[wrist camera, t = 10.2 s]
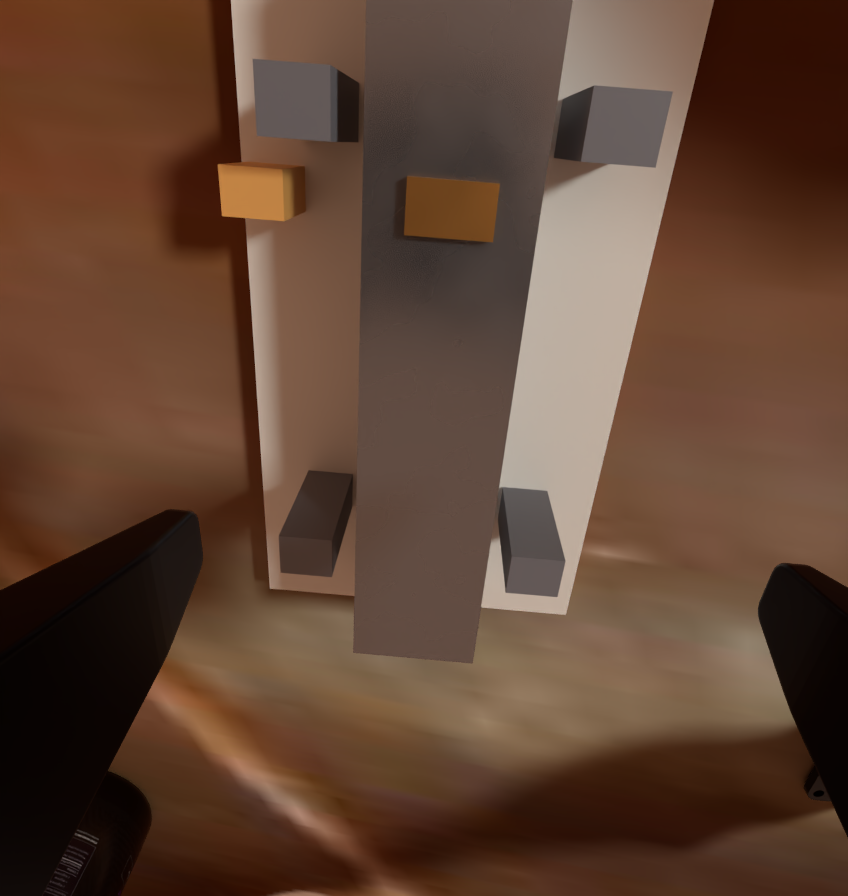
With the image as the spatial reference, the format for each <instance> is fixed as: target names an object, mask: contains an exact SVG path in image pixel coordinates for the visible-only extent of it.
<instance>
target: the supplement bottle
mask: <svg viewBox="0 0 848 896" xmlns="http://www.w3.org/2000/svg"><path fill="white" fill-rule="evenodd" d="M151 820H152V814H151V808H150V805H149V803H148V801H147V799H146V797H145V796H144V795H143V793H142V792H141V791H140V790H139V789H138V788H137V787H135V786H134V785H133V784H132V783H130V782H129V781H127V780H125V779H124V778H122V777H120V776H118V775H115V774H113V773H110V772H107V773H106V775H105V777H104V778H103V780H102V782H101V784H100V786H99V788H98V790H97V792H96V794H95V796H94V798H93V800H92V802H91V803H90V805H89V807H88V809H87V811H86V813H85V815H84V817H83V819H82V821H81V823H80V825H79V827H78V828H77V830H76V832H75V834H74V836H73V838H72V840H71V842H70V844H69V846H68V848H67V850H66V852H65V853H64V855H63V857H62V859H61V861H60V863H59V865H58V867H57V869H56V871H55V873H54V875H53V877H52V878H51V880H50V882H49V884H48V886H47V888H46V890H45V892H44V894H43V896H121V894H122V891H123V889H124V887H125V885H126V882H127V880H128V878H129V875H130V873H131V871H132V869H133V866H134V864H135V862H136V860H137V857H138V855H139V853H140V851H141V848H142V846H143V843H144V841H145V839H146V837H147V834H148V832H149V829H150V826H151Z"/></svg>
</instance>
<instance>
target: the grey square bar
mask: <svg viewBox="0 0 848 896" xmlns="http://www.w3.org/2000/svg"><path fill="white" fill-rule="evenodd" d="M572 2H573V0H366V33H365V84H364V135H363V186H362V237H361V288H360V339H359V390H358V441H357V492H356V543H355V594H354V645H353V653H363V654H374V655H385V656H396V657H407V658H418V659H430V660H441V661H452V662H463V663H473V657H474V650H475V644H476V637H477V631H478V624H479V617H480V611H481V604H482V598H483V591H484V584H485V578H486V571H487V564H488V558H489V551H490V545H491V538H492V531H493V525H494V518H495V512H496V505H497V498H498V492H499V485H500V478H501V472H502V465H503V459H504V452H505V445H506V439H507V432H508V426H509V419H510V412H511V406H512V399H513V392H514V386H515V379H516V373H517V366H518V359H519V353H520V346H521V340H522V333H523V326H524V320H525V313H526V307H527V300H528V293H529V287H530V280H531V273H532V267H533V260H534V254H535V247H536V240H537V234H538V227H539V221H540V214H541V207H542V201H543V194H544V187H545V181H546V174H547V168H548V161H549V154H550V148H551V141H552V135H553V128H554V121H555V115H556V108H557V101H558V95H559V88H560V82H561V75H562V68H563V62H564V55H565V49H566V42H567V35H568V29H569V22H570V15H571V9H572Z"/></svg>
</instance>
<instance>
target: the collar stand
mask: <svg viewBox="0 0 848 896" xmlns="http://www.w3.org/2000/svg"><path fill="white" fill-rule="evenodd" d="M713 3H714V0H573V2H572V9H571V15H570V22H569V29H568V35H567V42H566V49H565V55H564V62H563V68H562V75H561V82H560V88H559V95H558V101H557V108H556V115H555V121H554V128H553V135H552V141H551V148H550V154H549V161H548V168H547V174H546V181H545V187H544V194H543V201H542V207H541V214H540V221H539V227H538V234H537V240H536V247H535V254H534V260H533V267H532V273H531V280H530V287H529V293H528V300H527V307H526V313H525V320H524V326H523V333H522V340H521V346H520V353H519V359H518V366H517V373H516V379H515V386H514V392H513V399H512V406H511V412H510V419H509V426H508V432H507V439H506V445H505V452H504V459H503V465H502V472H501V478H500V485H499V492H498V498H497V505H496V512H495V518H494V525H493V531H492V538H491V545H490V551H489V558H488V564H487V571H486V578H485V584H484V591H483V598H482V604H481V607H483V608H495V609H506V610H517V611H528V612H540V613H551V614H562V615H566V612H567V608H568V604H569V599H570V595H571V591H572V587H573V583H574V579H575V575H576V570H577V566H578V562H579V558H580V554H581V550H582V546H583V541H584V537H585V533H586V529H587V525H588V521H589V517H590V512H591V508H592V504H593V500H594V496H595V492H596V488H597V483H598V479H599V475H600V471H601V467H602V463H603V459H604V454H605V450H606V446H607V442H608V438H609V434H610V430H611V426H612V421H613V417H614V413H615V409H616V405H617V401H618V397H619V392H620V388H621V384H622V380H623V376H624V372H625V368H626V363H627V359H628V355H629V351H630V347H631V343H632V339H633V334H634V330H635V326H636V322H637V318H638V314H639V310H640V305H641V301H642V297H643V293H644V289H645V285H646V281H647V276H648V272H649V268H650V264H651V260H652V256H653V252H654V247H655V243H656V239H657V235H658V231H659V227H660V223H661V218H662V214H663V210H664V206H665V202H666V198H667V194H668V189H669V185H670V181H671V177H672V173H673V169H674V165H675V160H676V156H677V152H678V148H679V144H680V140H681V136H682V132H683V127H684V123H685V119H686V115H687V111H688V107H689V103H690V98H691V94H692V90H693V86H694V82H695V78H696V74H697V69H698V65H699V61H700V57H701V53H702V49H703V45H704V40H705V36H706V32H707V28H708V24H709V20H710V16H711V11H712V7H713ZM231 11H232V26H233V41H234V56H235V71H236V86H237V101H238V116H239V131H240V146H241V161H242V162H238V163H226V164H218V174H219V186H220V198H221V210H222V216H226V217H238V218H245V222H246V237H247V252H248V267H249V282H250V297H251V312H252V327H253V342H254V357H255V373H256V388H257V403H258V418H259V433H260V448H261V463H262V478H263V493H264V508H265V523H266V538H267V554H268V569H269V584H270V589H281V590H292V591H303V592H315V593H326V594H337V595H348V596H354V594H355V543H356V492H357V441H358V390H359V339H360V288H361V237H362V186H363V135H364V84H365V33H366V0H231Z"/></svg>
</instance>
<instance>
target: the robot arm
mask: <svg viewBox="0 0 848 896" xmlns="http://www.w3.org/2000/svg"><path fill="white" fill-rule="evenodd" d="M202 561H203V552H202V544H201V537H200V529H199V521H198V518H197V515H196V514H195V513H194V512H193V511H185V510H174V509H169V510H166V511H164V512H161V513H159V514H157V515H155V516H153V517H151V518H149V519H147V520H145V521H143V522H141V523H139V524H137V525H135V526H132V527H130V528H128V529H126V530H124V531H122V532H120V533H118V534H116V535H114V536H112V537H110V538H108V539H106V540H103V541H101V542H99V543H97V544H95V545H93V546H91V547H89V548H87V549H85V550H83V551H81V552H79V553H77V554H74V555H72V556H70V557H68V558H66V559H64V560H62V561H60V562H58V563H56V564H54V565H52V566H50V567H48V568H45V569H43V570H41V571H39V572H37V573H35V574H33V575H31V576H29V577H27V578H25V579H23V580H21V581H19V582H16V583H14V584H12V585H10V586H8V587H6V588H4V589H2V590H0V896H43V894H44V892H45V890H46V888H47V886H48V884H49V882H50V880H51V878H52V877H53V875H54V873H55V871H56V869H57V867H58V865H59V863H60V861H61V859H62V857H63V855H64V853H65V852H66V850H67V848H68V846H69V844H70V842H71V840H72V838H73V836H74V834H75V832H76V830H77V828H78V827H79V825H80V823H81V821H82V819H83V817H84V815H85V813H86V811H87V809H88V807H89V805H90V803H91V802H92V800H93V798H94V796H95V794H96V792H97V790H98V788H99V786H100V784H101V782H102V780H103V778H104V777H105V775H106V773H107V771H108V769H109V767H110V765H111V763H112V761H113V759H114V757H115V755H116V753H117V752H118V750H119V748H120V746H121V744H122V742H123V740H124V738H125V736H126V734H127V732H128V730H129V728H130V727H131V725H132V723H133V721H134V719H135V717H136V715H137V713H138V711H139V709H140V707H141V705H142V703H143V702H144V700H145V698H146V696H147V694H148V692H149V690H150V688H151V686H152V684H153V682H154V680H155V678H156V677H157V675H158V673H159V671H160V669H161V667H162V665H163V663H164V661H165V659H166V657H167V655H168V652H169V650H170V647H171V645H172V643H173V640H174V638H175V635H176V632H177V630H178V627H179V625H180V622H181V619H182V617H183V614H184V612H185V609H186V606H187V604H188V601H189V598H190V596H191V593H192V591H193V588H194V585H195V583H196V580H197V578H198V575H199V572H200V570H201V566H202ZM758 617H759V621H760V624H761V627H762V630H763V633H764V636H765V639H766V642H767V645H768V648H769V651H770V654H771V657H772V660H773V663H774V666H775V669H776V672H777V674H778V677H779V680H780V683H781V686H782V689H783V692H784V695H785V698H786V701H787V703H788V706H789V709H790V711H791V714H792V716H793V718H794V721H795V723H796V725H797V728H798V730H799V732H800V734H801V736H802V739H803V741H804V743H805V745H806V747H807V750H808V752H809V754H810V756H811V758H812V760H813V763H814V765H815V767H814V769H813V771H812V772H811V774H810V776H809V777H808V779H807V781H806V782H805V784H804V789H805V791H806V793H807V795H808V797H809V798H811V799H813V800H822V801H831V802H832V804H833V806H834V809H835V811H836V813H837V815H838V817H839V819H840V822H841V824H842V826H843V828H844V830H845V833H846V835H847V837H848V587H846V586H844V585H842V584H841V583H839V582H837V581H835V580H834V579H832V578H830V577H828V576H827V575H825V574H823V573H821V572H820V571H818V570H816V569H814V568H813V567H811V566H808V565H802V564H790V563H781V564H779V565H777V566H776V567H775V568H774V570H773V572H772V574H771V576H770V579H769V581H768V583H767V586H766V588H765V590H764V593H763V595H762V597H761V600H760V602H759V606H758Z"/></svg>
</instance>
